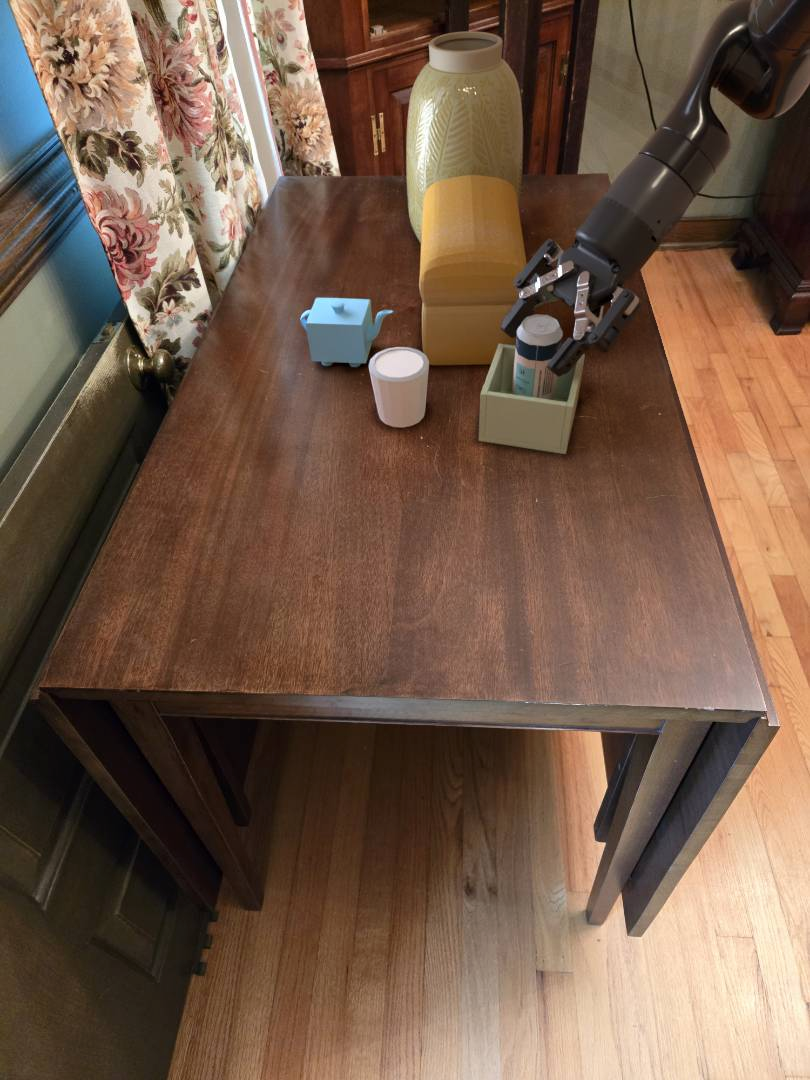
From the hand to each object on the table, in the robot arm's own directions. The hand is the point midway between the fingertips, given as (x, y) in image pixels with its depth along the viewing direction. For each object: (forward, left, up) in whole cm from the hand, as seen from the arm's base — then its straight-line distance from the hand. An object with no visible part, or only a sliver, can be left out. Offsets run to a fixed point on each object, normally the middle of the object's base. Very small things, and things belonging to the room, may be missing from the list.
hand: (529, 352), depth 77 cm
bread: (+11, -22, -10) cm, 26 cm away
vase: (+17, -43, -10) cm, 47 cm away
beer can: (-1, -1, -9) cm, 9 cm away
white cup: (+14, +1, -10) cm, 17 cm away
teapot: (+24, -9, -10) cm, 28 cm away
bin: (-1, -1, -10) cm, 10 cm away
